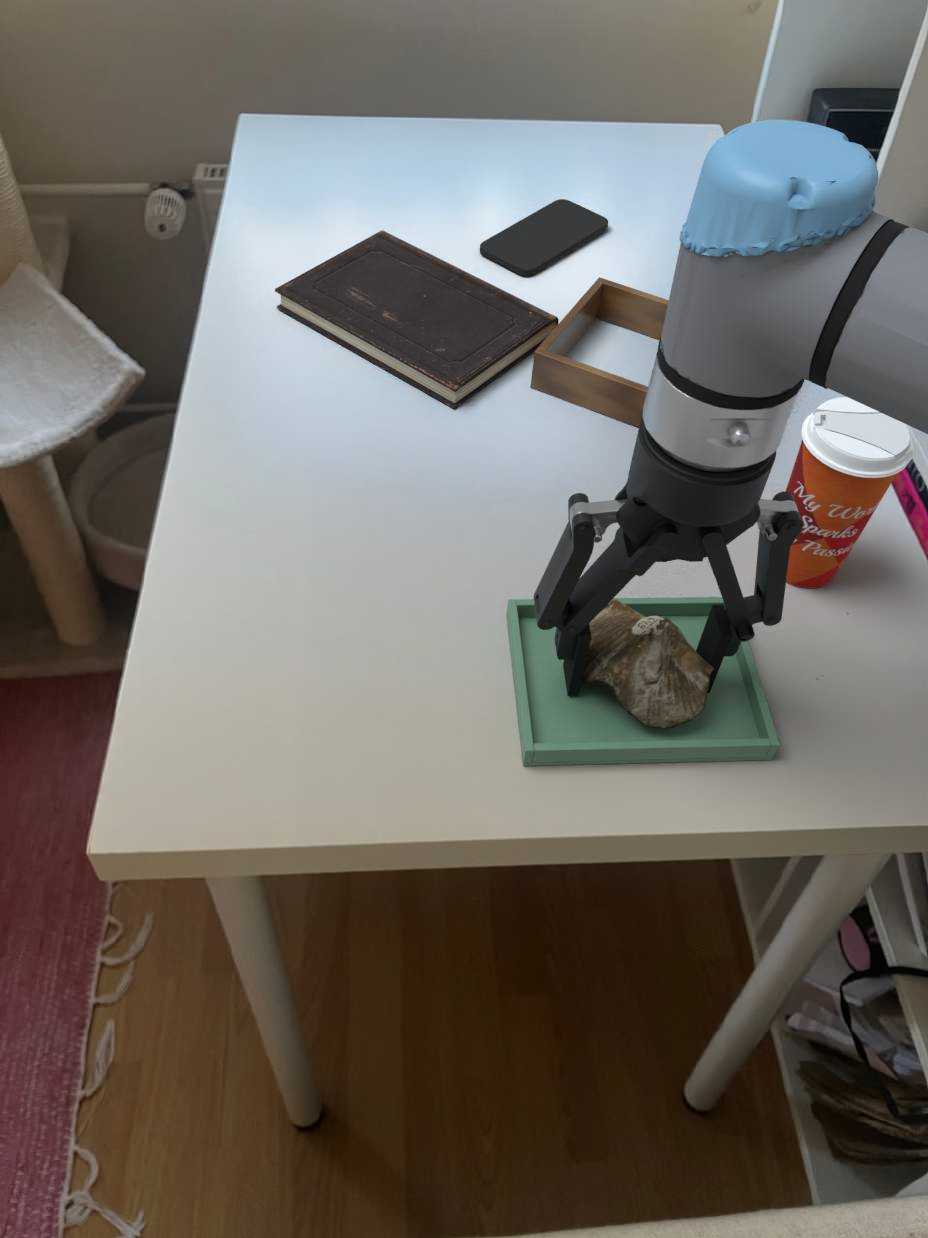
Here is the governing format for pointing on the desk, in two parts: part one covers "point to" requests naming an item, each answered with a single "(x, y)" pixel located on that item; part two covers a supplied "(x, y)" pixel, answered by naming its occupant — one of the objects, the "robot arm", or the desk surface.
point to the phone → (543, 237)
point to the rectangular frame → (584, 380)
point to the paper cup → (840, 483)
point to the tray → (605, 728)
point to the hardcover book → (417, 316)
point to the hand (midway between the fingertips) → (635, 679)
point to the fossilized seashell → (647, 666)
